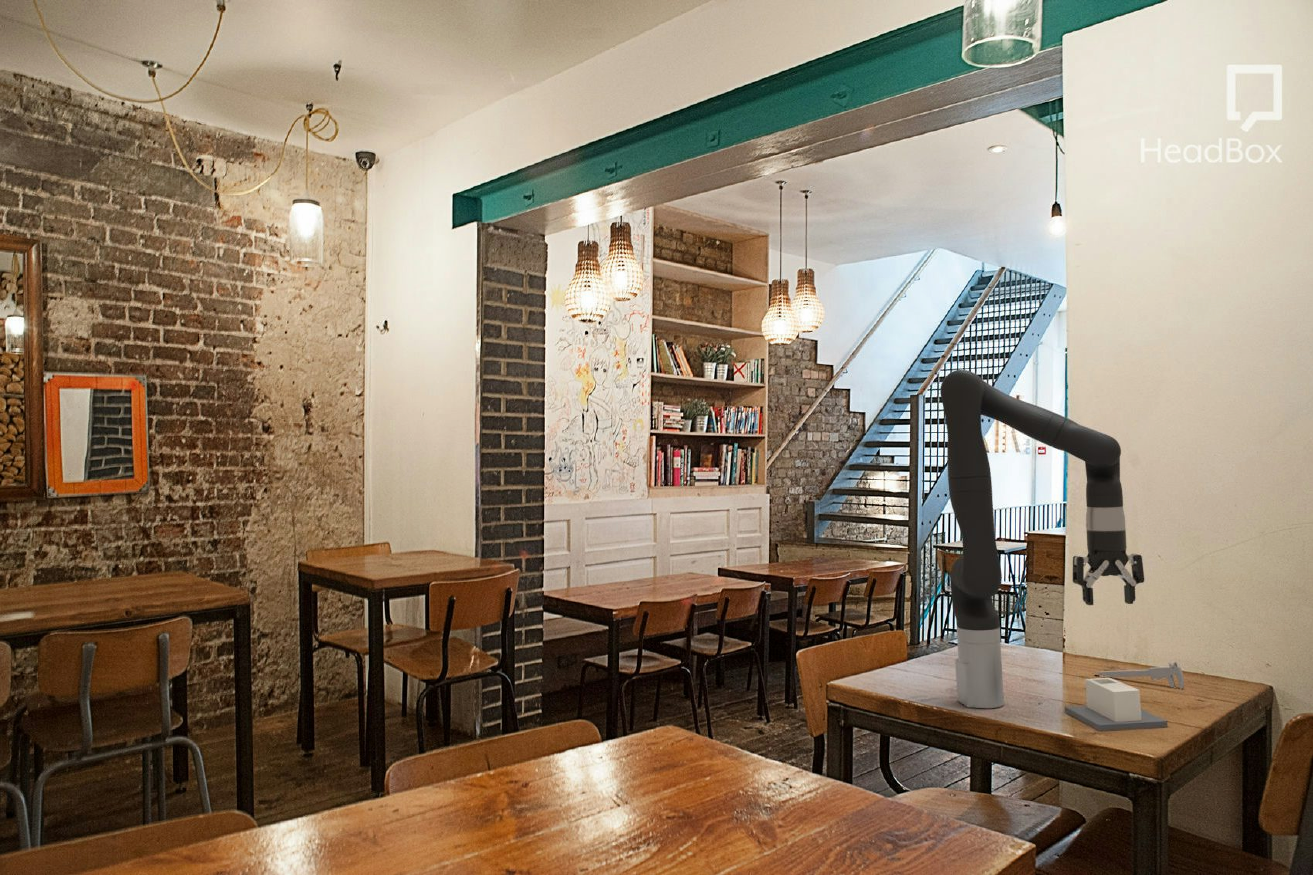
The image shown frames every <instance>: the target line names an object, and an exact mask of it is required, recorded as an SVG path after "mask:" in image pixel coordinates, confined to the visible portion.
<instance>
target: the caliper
mask: <svg viewBox="0 0 1313 875" xmlns="http://www.w3.org/2000/svg"><path fill="white" fill-rule="evenodd" d="M1096 674H1097V675H1103V676H1107V677H1116V678H1136V677H1137V678H1139V677H1150V679H1151V680H1160V679H1164V678H1165V679H1166V681H1167V683H1168V684H1169V686H1170V687H1171V688H1172V687H1176V688H1177V686H1176V681H1175V679H1174V677H1173V676H1176V680H1177V683H1178V686H1179V689H1180V690H1182V689H1184V688H1185V680H1184V679H1185V678H1184V677H1185V676H1184V673H1183V670H1182V667H1181V666H1178V662H1177V661H1175V662H1173V663H1172V662H1168V666H1158V667H1150V668H1149V667H1148V669H1129V670H1126V669H1125V670H1107V671H1105V670H1104V671H1097V673H1096Z"/></svg>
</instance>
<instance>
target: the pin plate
mask: <svg viewBox="0 0 1313 875" xmlns="http://www.w3.org/2000/svg"><path fill="white" fill-rule="evenodd" d="M1064 713H1066V714H1068V715H1069V716H1072V717H1073V718H1075V719H1076V720H1078V721H1080V722H1082V723H1084V724H1086V725H1087V726H1090V727H1091V728H1093V729H1095V730H1097V731H1098V732H1107V731H1109V732H1110V731H1125V730H1140V729H1141V730H1143V729H1157V728H1168V720H1166V719H1163V718H1162V717H1160V716H1157V715H1155V714H1153V713H1151V712H1149V711H1147V710H1144V709H1142V708H1141V720H1138V721H1122V722H1115V721H1113V720H1111V719H1109V718H1107V717H1105V716H1103V715H1101V714H1099V713H1097V712H1095V711H1093V710H1091V709H1089V708H1087V704H1085V705H1084V704H1083V705H1068V706H1067V705H1065V706H1064Z"/></svg>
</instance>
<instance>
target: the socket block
mask: <svg viewBox="0 0 1313 875" xmlns="http://www.w3.org/2000/svg"><path fill="white" fill-rule="evenodd" d="M1084 680H1085V696H1086V699H1085V700H1086V705H1087V708H1089V709H1091V710H1093V711H1095V712H1097V713H1099V714H1101V715H1103V716H1105V717H1107V718H1109V719H1111V720H1113V721H1115V722H1122V721H1138V720H1141V709H1142V706H1141V691H1140V689H1137V688H1135V687H1133V686H1130V685H1128V684H1126V683H1125V682H1121V681H1119V680H1117V679H1115V678H1103V677H1097V678H1096V677H1094V678H1085V679H1084Z"/></svg>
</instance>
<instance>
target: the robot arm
mask: <svg viewBox="0 0 1313 875" xmlns="http://www.w3.org/2000/svg"><path fill="white" fill-rule="evenodd" d="M940 384H941V385H940V397H941V398H940V399H941V404H942V408H943V413H944V419H945V424H946V431H947V433H946V434H947V449H946V450H947V451H946V454H947V455H946V458H947V462H946V463H947V481H948V494H949V501H950V505H951V508H952V511H953V513H954V517H955V519H956V523H957V525H958V528H959V530H960V533H961V534H960V535H961V541H962V555H961V556H959V557H958V558H957V559H956V560H955V561H954V562H953V564H952V566H951V569H950V574H949V576H950V581H949V582H950V592H951V593H950V594H951V603H952V604H951V605H952V610H953V614H954V617H955V622H956V638H957V639H956V640H957V653H958V654H957V657H958V658H955V659H954V660H955V661H954V662H955V675H956V676H955V677H956V678H955V680H956V694H957V695H956V697H957V702H959V703H960V704H962V705H963V704H964V706H965V707H966V708H977V709H993V708H1001V707H1002V706H1004V705H1005V698H1004V697H1005V693H1004V680H1003V679H1004V677H1003V664H1002V663H1003V660H1002V659H1003V658H1002V646H1001V645H1002V644H1001V643H1002V642H1001V624H1000V616H999V613H998V612H997V610H996V607H995V606H994V603H993V597H994V596H995V595H997V593H998V592H999V591H1000V588H1001V585H1002V580H1003V574H1002V568H1001V567H1002V566H1001V563H1000V557H999V552H998V548H997V547H998V546H997V541H996V536H995V535H996V534H995V517H994V516H995V514H994V503H993V485H992V482H993V481H992V474H991V466H990V461H989V457H988V452H987V449H986V444H985V441H984V437H983V430H982V416H985V417H988V418H990V419H993V420H994V421H998V422H1000V423H1002V424H1004V425H1006V426H1008V427H1010V428H1012V429H1013V430H1015V431H1017V432H1019V433H1021V434H1023V435H1025V436H1026V437H1029V438H1031V439H1033V440H1035V441H1037V442H1040V443H1042V444H1043V445H1046V446H1049V447H1051V448H1053V449H1055V450H1059V451H1063V452H1066V453H1068V454H1069V455H1071V456H1074V457H1076V458H1077V459H1079V460H1081V461H1083V462H1084V464H1085V474H1086V487H1085V498H1086V503H1085V504H1086V514H1085V528H1086V530H1085V531H1086V548H1087V555H1086V556H1080V555H1074V556H1072V583H1073V584H1076V585H1079V586H1080V587H1081V590H1082V592H1081V593H1082V601H1083V602H1084V603H1085V604H1086V605H1088V606H1094V588H1093V585H1094V584H1095V582H1096V581H1097V580H1098V579H1099V578H1100V577H1101V576H1102V577H1108V576H1113V577H1116V576H1117V577H1118V578H1120V579H1121V580H1122V581H1123V583H1124V586H1123V592H1124V604H1128V605H1133V604H1134V602H1135V601H1136V585H1138V584H1140V583H1141V584H1144V582H1145V573H1144V563H1143V556H1142V555H1141V554H1138V553H1137V554H1136V553H1131V554H1127V533H1126V532H1127V530H1126V529H1127V528H1126V517H1125V516H1126V515H1125V510H1124V498H1123V496H1124V495H1123V486H1122V482H1121V454H1122V449H1121V446H1120V443H1119V442H1118V441H1117V439H1116V438H1115V437H1113V436H1111V435H1108V434H1105V433H1103V432H1100V431H1098V430H1096V429H1093V428H1089V427H1087V426H1084V425H1081V424H1079V423H1077V422H1075V421H1074V420H1072V419H1070V418H1067V417H1066V416H1063V415H1061V414H1058V413H1056V412H1054V411H1051V410H1048V409H1046V408H1044V407H1041V406H1038V405H1035V404H1033V403H1031V402H1027V401H1023V400H1021V399H1019V398H1016V397H1014V396H1012V395H1010V394H1007V393H1005V392H1003V391H1001V390H999V389H998V388H995V387H994V386H993V385H991V384H989V383H988V382H987V381H985V380H984V379H982V377H980V376H979V375H978V374H976V373H975V372H973V371H970V370H967V369H955V370H952V372H950V373H948V374H947V375H946V376H945V377H944V379H943V380H942V382H941V383H940ZM1128 563H1129V564H1130V565H1131V573H1130V571H1128V569H1127V567H1126V565H1127V564H1128ZM1086 564H1088V565H1089V568H1088V570H1087V571H1086V572H1085V576H1084V571H1085V570H1084V568H1085V567H1086Z"/></svg>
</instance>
